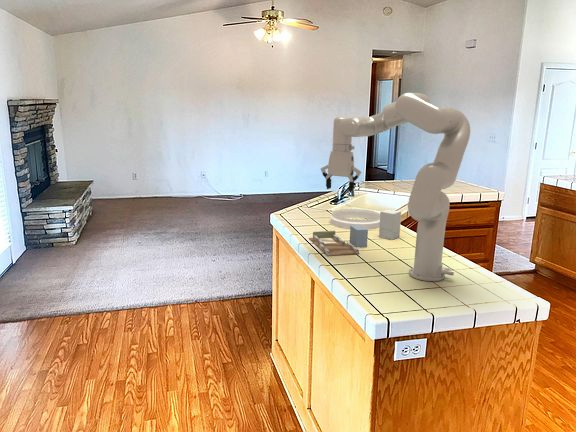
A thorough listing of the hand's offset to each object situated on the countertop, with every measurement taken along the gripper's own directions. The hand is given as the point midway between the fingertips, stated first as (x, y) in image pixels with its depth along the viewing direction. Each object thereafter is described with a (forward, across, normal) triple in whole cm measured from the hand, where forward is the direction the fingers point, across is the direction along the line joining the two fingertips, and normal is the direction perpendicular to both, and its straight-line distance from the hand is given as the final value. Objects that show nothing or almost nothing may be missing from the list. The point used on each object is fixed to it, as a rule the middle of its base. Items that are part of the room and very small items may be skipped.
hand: (339, 189), depth 188 cm
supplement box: (+26, -14, -33) cm, 44 cm away
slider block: (+26, -5, -13) cm, 30 cm away
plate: (+27, +9, -50) cm, 57 cm away
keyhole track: (+26, +4, -5) cm, 27 cm away
